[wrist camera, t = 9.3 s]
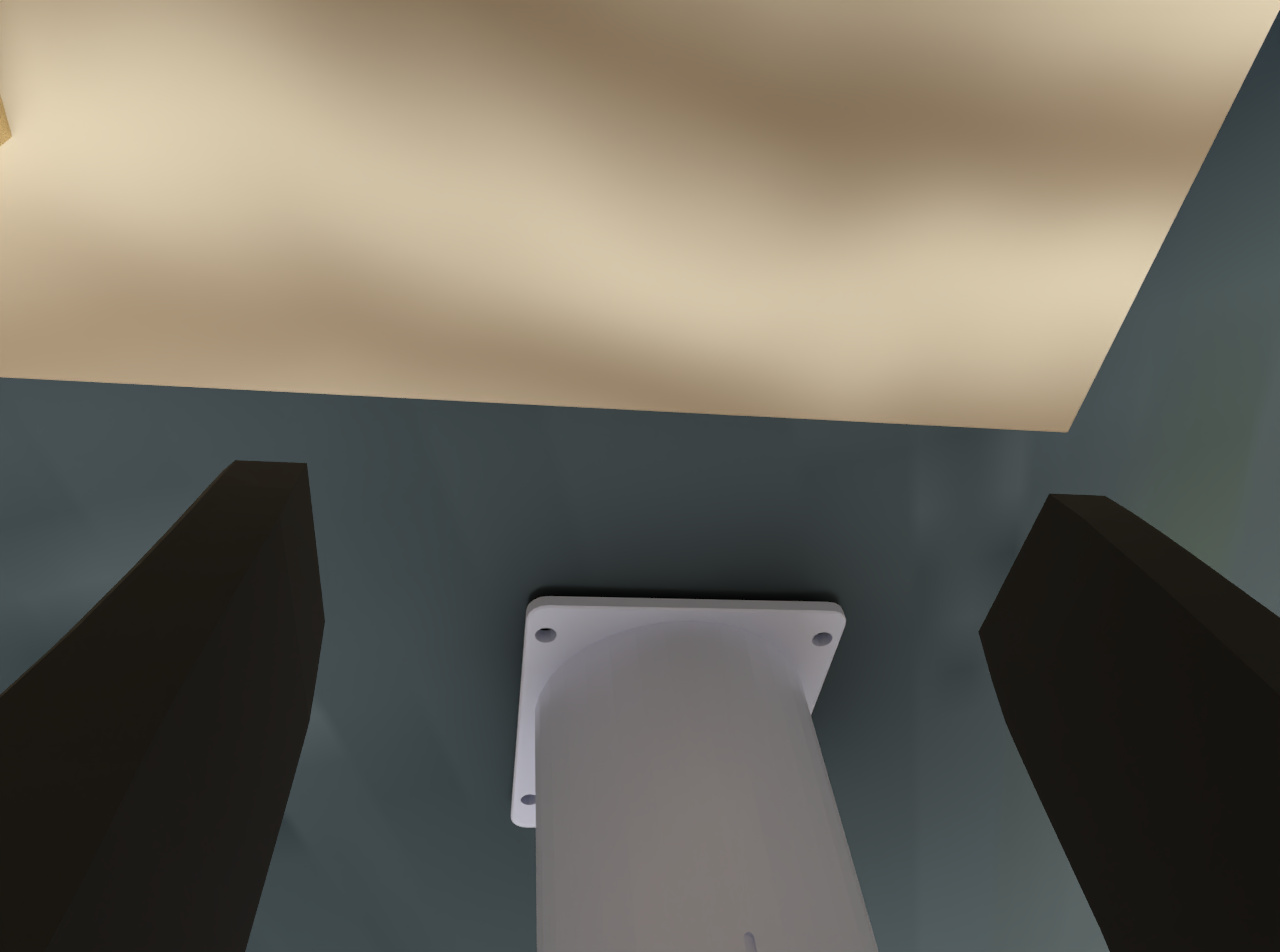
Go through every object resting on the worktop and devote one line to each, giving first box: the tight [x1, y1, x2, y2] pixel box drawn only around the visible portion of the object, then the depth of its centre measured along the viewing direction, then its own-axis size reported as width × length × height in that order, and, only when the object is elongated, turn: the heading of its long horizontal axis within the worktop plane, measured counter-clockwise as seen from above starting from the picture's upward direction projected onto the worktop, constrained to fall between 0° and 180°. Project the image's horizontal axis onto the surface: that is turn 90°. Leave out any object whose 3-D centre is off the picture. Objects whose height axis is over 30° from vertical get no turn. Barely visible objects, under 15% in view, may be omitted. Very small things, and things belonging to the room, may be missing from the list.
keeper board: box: [0, 0, 1280, 432], centre depth 12 cm, size 14×28×4 cm, turn 83°
